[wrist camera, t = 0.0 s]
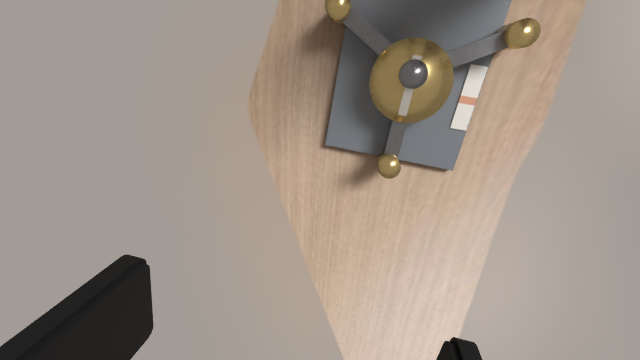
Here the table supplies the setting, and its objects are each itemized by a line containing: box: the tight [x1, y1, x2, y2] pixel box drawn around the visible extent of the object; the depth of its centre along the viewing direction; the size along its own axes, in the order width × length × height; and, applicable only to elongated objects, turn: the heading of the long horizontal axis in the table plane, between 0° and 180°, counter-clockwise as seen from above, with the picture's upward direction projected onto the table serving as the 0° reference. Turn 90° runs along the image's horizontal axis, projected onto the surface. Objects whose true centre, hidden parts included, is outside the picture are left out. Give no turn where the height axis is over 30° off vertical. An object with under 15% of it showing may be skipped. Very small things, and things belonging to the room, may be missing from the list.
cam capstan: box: [325, 0, 540, 178], centre depth 33 cm, size 17×20×4 cm
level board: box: [325, 0, 511, 171], centre depth 34 cm, size 20×16×1 cm
